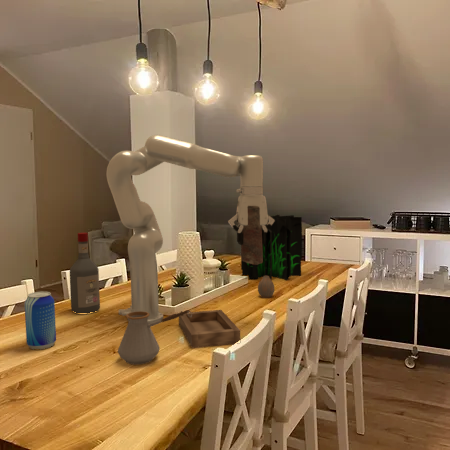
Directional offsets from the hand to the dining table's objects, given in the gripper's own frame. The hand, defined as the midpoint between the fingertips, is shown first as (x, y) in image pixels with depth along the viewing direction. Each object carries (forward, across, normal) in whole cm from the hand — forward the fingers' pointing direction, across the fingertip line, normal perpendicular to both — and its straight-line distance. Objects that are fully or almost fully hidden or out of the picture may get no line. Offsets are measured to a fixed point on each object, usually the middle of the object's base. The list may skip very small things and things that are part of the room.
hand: (251, 243), depth 167 cm
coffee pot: (+28, -36, -27) cm, 53 cm away
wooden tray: (+28, -17, -8) cm, 34 cm away
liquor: (+28, -56, +31) cm, 70 cm away
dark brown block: (+7, 0, 0) cm, 7 cm away
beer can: (+28, -68, -5) cm, 74 cm away
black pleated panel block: (+28, +34, +73) cm, 85 cm away
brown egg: (+28, +17, +32) cm, 45 cm away
